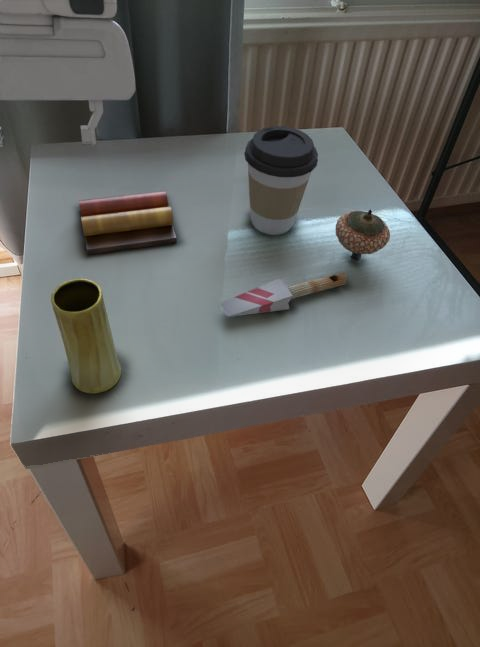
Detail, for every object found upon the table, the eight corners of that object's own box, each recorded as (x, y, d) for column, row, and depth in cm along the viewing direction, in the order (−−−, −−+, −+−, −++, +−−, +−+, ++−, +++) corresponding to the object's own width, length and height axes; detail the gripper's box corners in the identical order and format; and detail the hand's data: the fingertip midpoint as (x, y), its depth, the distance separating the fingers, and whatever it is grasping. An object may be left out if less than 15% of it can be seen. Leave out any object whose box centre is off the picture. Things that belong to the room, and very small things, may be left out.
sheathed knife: (219, 292, 70) (339, 264, 77) (217, 306, 72) (335, 277, 79) (229, 311, 68) (353, 280, 75) (228, 325, 70) (348, 294, 77)
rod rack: (87, 254, 78) (83, 234, 75) (81, 208, 85) (76, 188, 82) (176, 242, 81) (176, 222, 78) (162, 199, 89) (161, 179, 86)
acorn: (318, 252, 82) (330, 201, 74) (356, 237, 85) (371, 186, 78) (351, 284, 78) (367, 232, 70) (390, 266, 81) (409, 215, 73)
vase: (62, 371, 64) (35, 291, 53) (104, 347, 66) (87, 267, 56) (87, 403, 61) (64, 326, 50) (130, 376, 64) (117, 298, 53)
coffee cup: (279, 195, 92) (291, 116, 80) (318, 230, 86) (336, 150, 74) (226, 213, 87) (230, 131, 76) (263, 251, 81) (274, 169, 70)
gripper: (-117, -16, 42) (-70, 154, 49) (131, -3, 47) (141, 149, 55) (-97, -14, 47) (-57, 140, 54) (125, -2, 52) (134, 136, 60)
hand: (44, 144), depth 54 cm, fingers open, 8 cm apart
